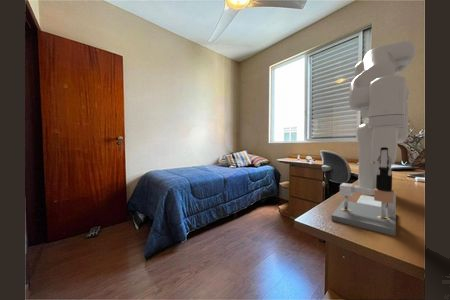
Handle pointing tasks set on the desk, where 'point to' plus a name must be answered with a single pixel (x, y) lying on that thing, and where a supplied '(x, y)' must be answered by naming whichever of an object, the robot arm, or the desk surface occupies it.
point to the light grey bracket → (350, 189)
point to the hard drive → (369, 201)
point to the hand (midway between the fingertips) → (384, 187)
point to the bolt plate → (365, 217)
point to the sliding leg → (384, 198)
